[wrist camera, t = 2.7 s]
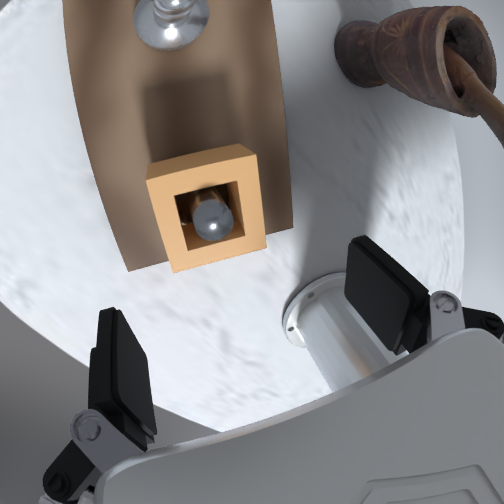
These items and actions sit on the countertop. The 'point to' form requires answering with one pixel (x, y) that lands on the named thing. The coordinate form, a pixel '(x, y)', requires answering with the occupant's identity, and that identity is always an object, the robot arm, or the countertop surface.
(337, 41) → the mortar and pestle
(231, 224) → the shiny metal knob
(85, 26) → the board
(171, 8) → the silver round flared piece
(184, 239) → the collar
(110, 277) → the countertop surface
